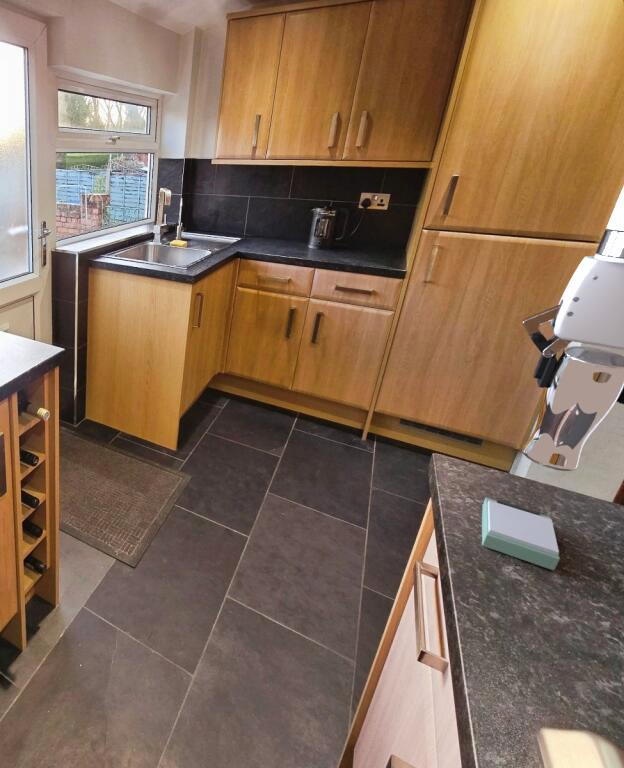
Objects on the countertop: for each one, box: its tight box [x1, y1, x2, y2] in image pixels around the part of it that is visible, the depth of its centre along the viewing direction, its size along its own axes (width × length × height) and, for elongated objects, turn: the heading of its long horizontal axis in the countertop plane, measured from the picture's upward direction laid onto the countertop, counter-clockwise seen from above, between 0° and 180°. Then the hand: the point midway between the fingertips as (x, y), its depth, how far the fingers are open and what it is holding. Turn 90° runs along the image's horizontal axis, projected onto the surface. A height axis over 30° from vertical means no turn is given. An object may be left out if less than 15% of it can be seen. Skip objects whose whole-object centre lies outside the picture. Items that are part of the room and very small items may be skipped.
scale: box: [481, 497, 561, 571], centre depth 72 cm, size 11×8×3 cm
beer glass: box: [521, 345, 624, 472], centre depth 64 cm, size 7×7×15 cm
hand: (579, 391), depth 63 cm, fingers closed on beer glass, 7 cm apart
